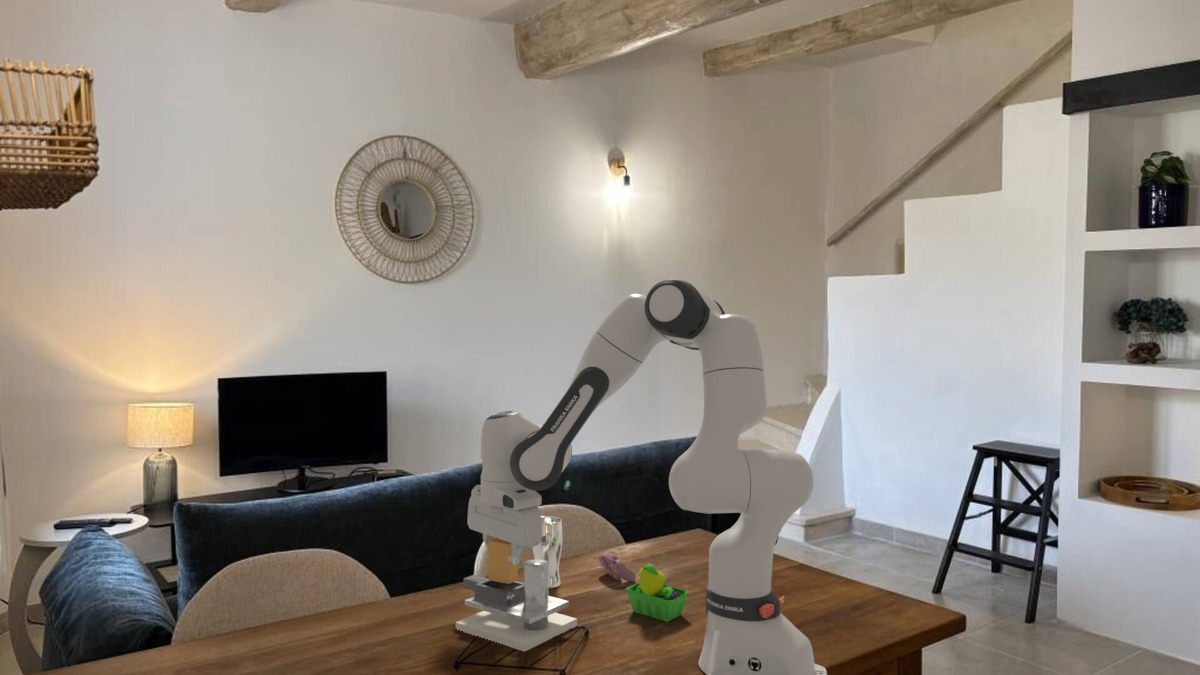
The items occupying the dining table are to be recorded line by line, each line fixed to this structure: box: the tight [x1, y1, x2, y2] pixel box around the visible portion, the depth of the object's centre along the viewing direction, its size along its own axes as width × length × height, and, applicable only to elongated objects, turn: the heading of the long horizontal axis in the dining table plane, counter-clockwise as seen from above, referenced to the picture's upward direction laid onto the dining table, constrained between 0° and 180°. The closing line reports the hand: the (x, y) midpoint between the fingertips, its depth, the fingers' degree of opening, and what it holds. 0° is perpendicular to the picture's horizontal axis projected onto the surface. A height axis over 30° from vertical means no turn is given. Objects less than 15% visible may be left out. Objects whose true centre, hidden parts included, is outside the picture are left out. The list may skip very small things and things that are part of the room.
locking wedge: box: [487, 537, 519, 584], centre depth 181 cm, size 5×3×8 cm, turn 63°
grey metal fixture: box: [462, 559, 570, 631], centre depth 180 cm, size 22×12×12 cm, turn 54°
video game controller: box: [598, 551, 637, 583], centre depth 210 cm, size 10×5×7 cm, turn 26°
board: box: [455, 610, 578, 652], centre depth 179 cm, size 18×16×2 cm
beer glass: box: [532, 515, 563, 590], centre depth 205 cm, size 7×7×15 cm
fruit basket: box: [626, 563, 689, 623], centre depth 186 cm, size 11×9×11 cm
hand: (503, 559), depth 181 cm, fingers closed on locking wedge, 6 cm apart
